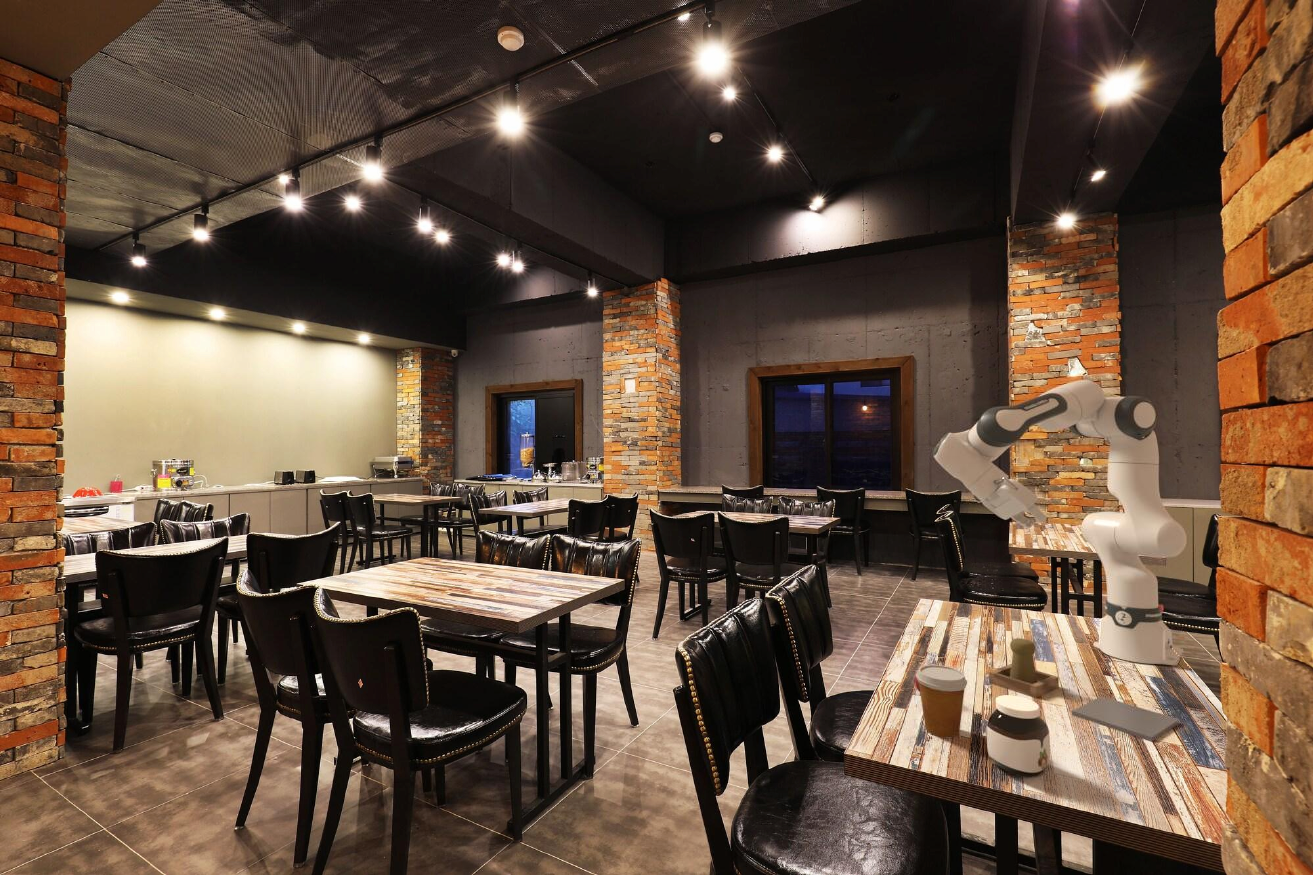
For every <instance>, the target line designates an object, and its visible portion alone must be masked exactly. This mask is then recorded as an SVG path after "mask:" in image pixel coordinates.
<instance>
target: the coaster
mask: <svg viewBox="0 0 1313 875" xmlns="http://www.w3.org/2000/svg"><path fill="white" fill-rule="evenodd" d="M1071 715H1072V716H1074V717H1078V718H1080V719H1083V720H1085V721H1090V722H1093V723H1095V724H1099V725H1101V726H1105V727H1108V728H1111V729H1114V730H1117V731H1119V732H1122V733H1125V734H1128V735H1131V736H1134V737H1138V738H1141V739H1143V740H1146V741H1149V742H1153V741H1155V740H1156V739H1158V738H1160V737H1161V736H1163V735H1164V734H1165V733H1167V732H1169V731H1170V730H1171V729H1173V728H1174V727H1177V726H1178V725H1179V724H1180V719H1179V718H1176V717H1172V716H1169V715H1165V714H1162V713H1159V712H1155V711H1153V710H1149V709H1145V708H1142V707H1139V706H1135V705H1132V704H1129V703H1127V702H1122V701H1119V700H1116V699H1112V698H1110V697H1109V698H1108V697H1106V696H1104V695H1103V696H1102V695H1101V696H1099V697H1096V698H1095V699H1093V700H1091V701H1089V702H1087V703H1085V704H1083V705H1081V706H1079V707H1077V708H1075V709H1073V710H1072V711H1071Z"/></svg>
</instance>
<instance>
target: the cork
mask: <svg viewBox="0 0 1313 875" xmlns="http://www.w3.org/2000/svg"><path fill="white" fill-rule="evenodd" d="M1009 645H1010V647H1009V648H1010V649H1011V651H1012V657H1011V658H1012V659H1011V663H1010V664H1011V672H1010V677H1011V678H1014V679H1018V680H1021V681H1024V682H1027V683H1030V684H1034V683H1037V677H1036V672H1035V670H1036V665H1035V660H1034V654H1035V651H1036V645H1035V643H1034V642H1033V641H1032V640H1030V639H1027V638H1018V637H1016V638H1013V639H1011V641H1010V643H1009Z"/></svg>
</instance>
